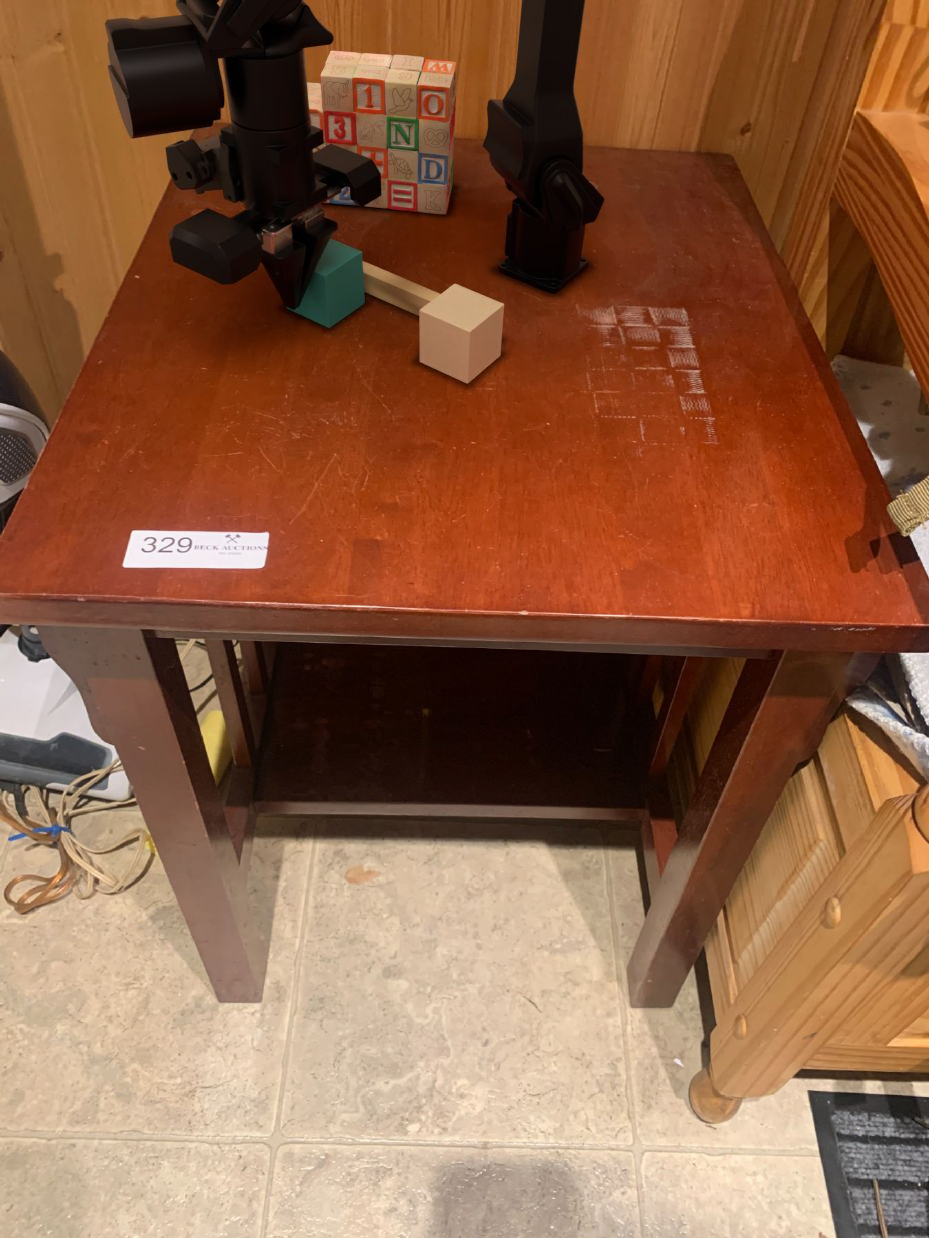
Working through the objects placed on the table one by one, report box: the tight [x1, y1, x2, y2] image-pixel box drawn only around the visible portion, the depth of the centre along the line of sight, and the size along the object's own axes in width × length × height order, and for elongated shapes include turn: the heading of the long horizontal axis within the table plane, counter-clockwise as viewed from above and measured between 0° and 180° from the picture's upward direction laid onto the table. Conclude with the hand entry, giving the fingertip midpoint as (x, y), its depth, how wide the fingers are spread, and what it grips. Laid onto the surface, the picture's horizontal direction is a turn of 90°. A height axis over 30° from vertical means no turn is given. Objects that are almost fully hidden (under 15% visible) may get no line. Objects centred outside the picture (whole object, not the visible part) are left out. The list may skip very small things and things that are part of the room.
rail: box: [363, 260, 441, 317], centre depth 82 cm, size 18×2×2 cm, turn 55°
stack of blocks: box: [307, 50, 457, 215], centre depth 91 cm, size 21×6×12 cm, turn 84°
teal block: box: [286, 238, 366, 329], centre depth 81 cm, size 5×5×5 cm
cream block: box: [418, 283, 505, 384], centre depth 76 cm, size 5×5×5 cm
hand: (292, 307), depth 79 cm, fingers closed
